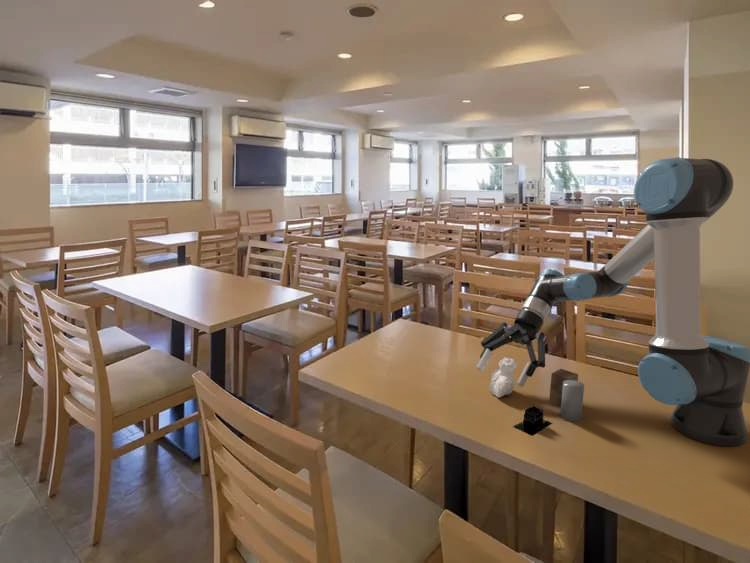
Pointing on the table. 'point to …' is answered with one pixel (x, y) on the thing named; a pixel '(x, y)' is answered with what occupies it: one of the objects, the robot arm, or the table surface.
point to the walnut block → (560, 384)
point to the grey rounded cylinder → (572, 400)
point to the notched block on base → (533, 421)
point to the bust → (503, 378)
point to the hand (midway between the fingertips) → (498, 377)
